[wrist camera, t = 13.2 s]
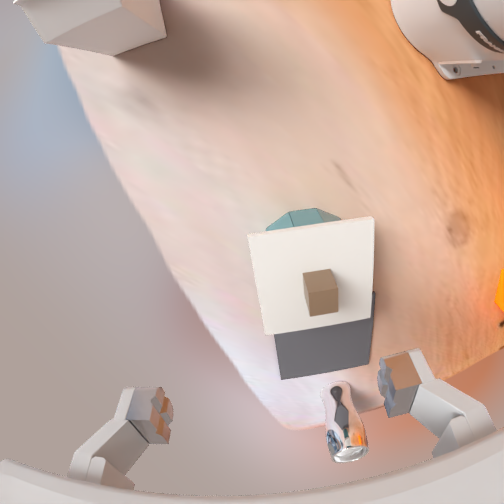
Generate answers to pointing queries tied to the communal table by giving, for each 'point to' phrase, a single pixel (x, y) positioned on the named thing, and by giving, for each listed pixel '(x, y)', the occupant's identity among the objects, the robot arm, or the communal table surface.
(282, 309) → the lid
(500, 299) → the orange juice
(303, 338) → the mat
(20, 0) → the milk carton
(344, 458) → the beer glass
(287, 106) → the communal table surface
